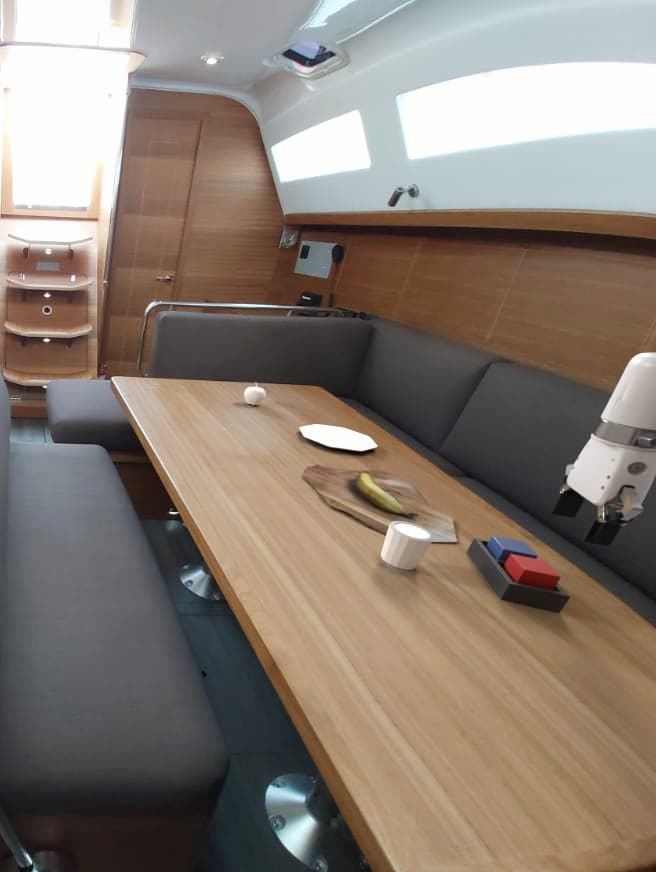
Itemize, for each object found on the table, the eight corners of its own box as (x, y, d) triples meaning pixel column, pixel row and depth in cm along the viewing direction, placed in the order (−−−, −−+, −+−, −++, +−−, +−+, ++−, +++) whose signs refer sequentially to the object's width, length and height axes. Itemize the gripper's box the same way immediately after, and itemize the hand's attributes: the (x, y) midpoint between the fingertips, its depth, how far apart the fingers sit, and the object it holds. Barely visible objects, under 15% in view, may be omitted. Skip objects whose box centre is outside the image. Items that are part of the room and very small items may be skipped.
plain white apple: (244, 399, 186) (249, 379, 183) (264, 403, 183) (270, 382, 179) (240, 404, 181) (245, 383, 178) (260, 408, 178) (266, 387, 174)
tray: (516, 562, 97) (525, 547, 95) (559, 613, 84) (570, 596, 82) (466, 552, 100) (474, 537, 98) (500, 599, 87) (509, 583, 85)
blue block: (512, 563, 96) (524, 541, 94) (525, 578, 92) (538, 556, 89) (480, 556, 97) (492, 535, 95) (491, 571, 93) (503, 549, 91)
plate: (382, 458, 141) (384, 454, 140) (306, 447, 146) (307, 443, 145) (362, 434, 158) (364, 430, 157) (294, 425, 163) (296, 421, 162)
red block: (531, 583, 90) (545, 560, 88) (546, 600, 86) (561, 577, 84) (497, 575, 92) (510, 553, 89) (511, 592, 87) (524, 569, 85)
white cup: (425, 575, 92) (440, 544, 89) (383, 566, 94) (396, 536, 91) (412, 554, 98) (426, 524, 95) (372, 547, 100) (384, 517, 97)
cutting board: (289, 464, 135) (293, 451, 133) (395, 472, 132) (401, 459, 131) (352, 535, 104) (359, 519, 102) (493, 548, 101) (502, 533, 99)
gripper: (707, 458, 69) (642, 561, 76) (625, 421, 83) (577, 510, 90) (634, 449, 71) (578, 550, 78) (567, 415, 86) (524, 502, 93)
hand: (577, 528), depth 84 cm, fingers open, 9 cm apart
